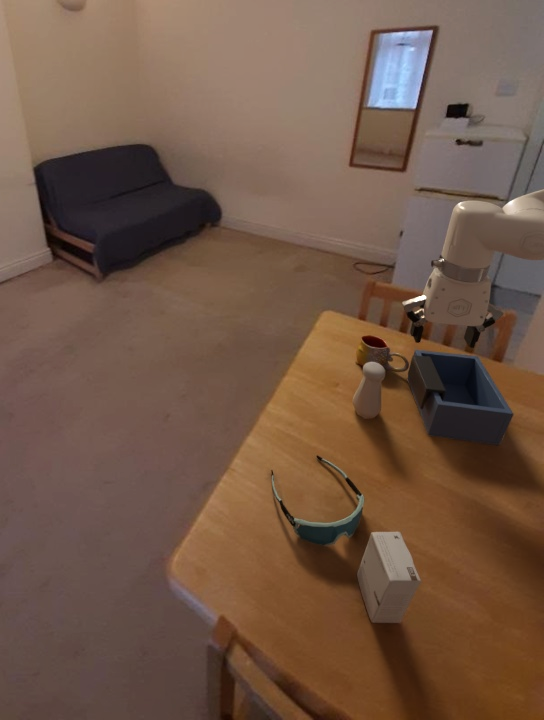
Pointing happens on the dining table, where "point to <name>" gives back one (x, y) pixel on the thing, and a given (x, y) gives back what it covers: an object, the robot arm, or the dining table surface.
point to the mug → (377, 353)
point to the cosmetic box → (387, 577)
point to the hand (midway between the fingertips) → (441, 340)
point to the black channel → (424, 379)
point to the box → (464, 401)
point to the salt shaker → (369, 391)
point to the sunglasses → (325, 531)
